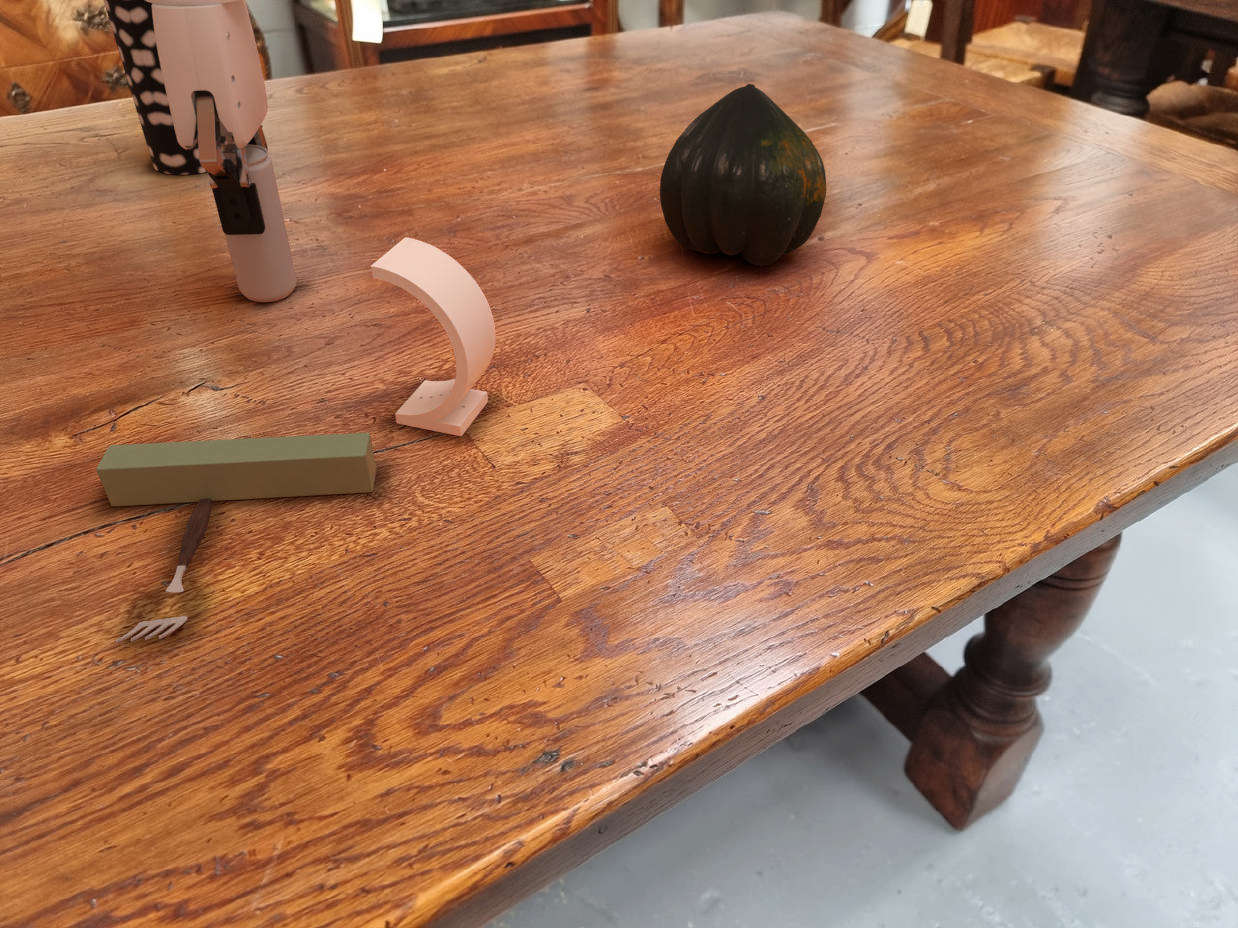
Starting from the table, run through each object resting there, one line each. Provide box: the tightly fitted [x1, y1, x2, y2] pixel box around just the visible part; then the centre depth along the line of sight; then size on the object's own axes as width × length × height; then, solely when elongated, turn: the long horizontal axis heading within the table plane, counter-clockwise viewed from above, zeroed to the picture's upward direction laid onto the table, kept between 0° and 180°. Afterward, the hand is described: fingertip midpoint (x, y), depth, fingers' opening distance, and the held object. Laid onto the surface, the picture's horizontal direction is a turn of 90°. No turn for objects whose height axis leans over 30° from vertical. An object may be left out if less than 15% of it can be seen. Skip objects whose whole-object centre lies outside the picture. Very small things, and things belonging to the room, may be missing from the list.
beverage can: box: [223, 144, 298, 303], centre depth 76 cm, size 5×5×12 cm
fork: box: [115, 498, 213, 644], centre depth 54 cm, size 3×16×2 cm, turn 6°
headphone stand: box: [370, 236, 497, 437], centre depth 62 cm, size 5×6×12 cm
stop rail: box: [95, 432, 378, 507], centre depth 58 cm, size 16×2×3 cm, turn 96°
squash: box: [659, 83, 827, 267], centre depth 85 cm, size 14×15×15 cm
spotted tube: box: [102, 0, 228, 176], centre depth 99 cm, size 8×8×20 cm
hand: (252, 216), depth 76 cm, fingers closed on beverage can, 4 cm apart
